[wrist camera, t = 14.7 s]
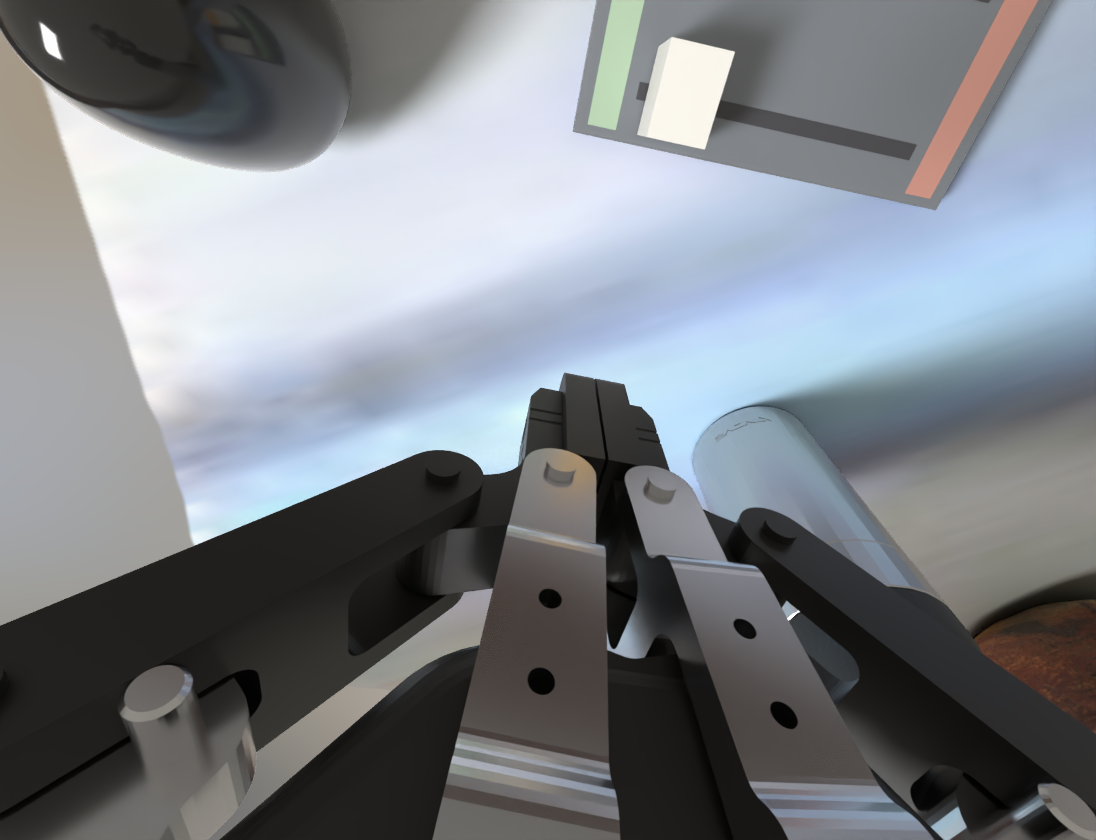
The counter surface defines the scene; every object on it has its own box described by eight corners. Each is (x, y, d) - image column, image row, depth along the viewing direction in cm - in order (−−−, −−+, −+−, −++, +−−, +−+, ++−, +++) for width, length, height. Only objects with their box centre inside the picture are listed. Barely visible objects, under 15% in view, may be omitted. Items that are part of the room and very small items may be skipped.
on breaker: (714, 59, 26) (735, 51, 23) (688, 146, 28) (704, 149, 25) (658, 46, 25) (672, 36, 22) (636, 134, 27) (646, 136, 24)
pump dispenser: (262, -126, 24) (-100, -426, 11) (412, 88, 28) (286, 62, 15) (142, 30, 27) (-250, -54, 14) (293, 200, 31) (104, 259, 18)
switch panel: (1058, -51, 24) (1086, -61, 23) (919, 206, 31) (935, 210, 29) (627, -167, 23) (631, -185, 21) (572, 131, 29) (573, 131, 28)
